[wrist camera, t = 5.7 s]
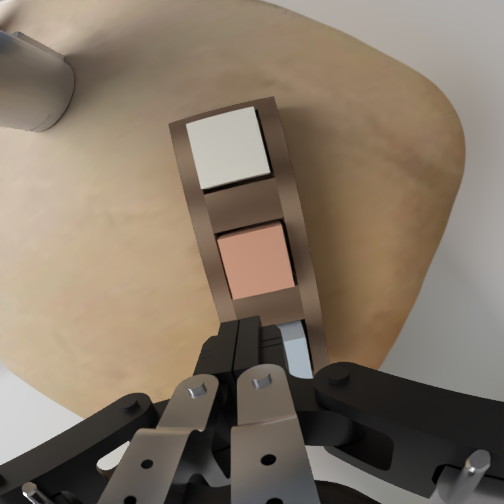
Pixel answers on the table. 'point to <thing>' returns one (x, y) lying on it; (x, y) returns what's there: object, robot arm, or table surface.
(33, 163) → the table surface
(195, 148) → the cream button
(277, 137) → the button panel
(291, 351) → the bluegrey button
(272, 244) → the pink square block
